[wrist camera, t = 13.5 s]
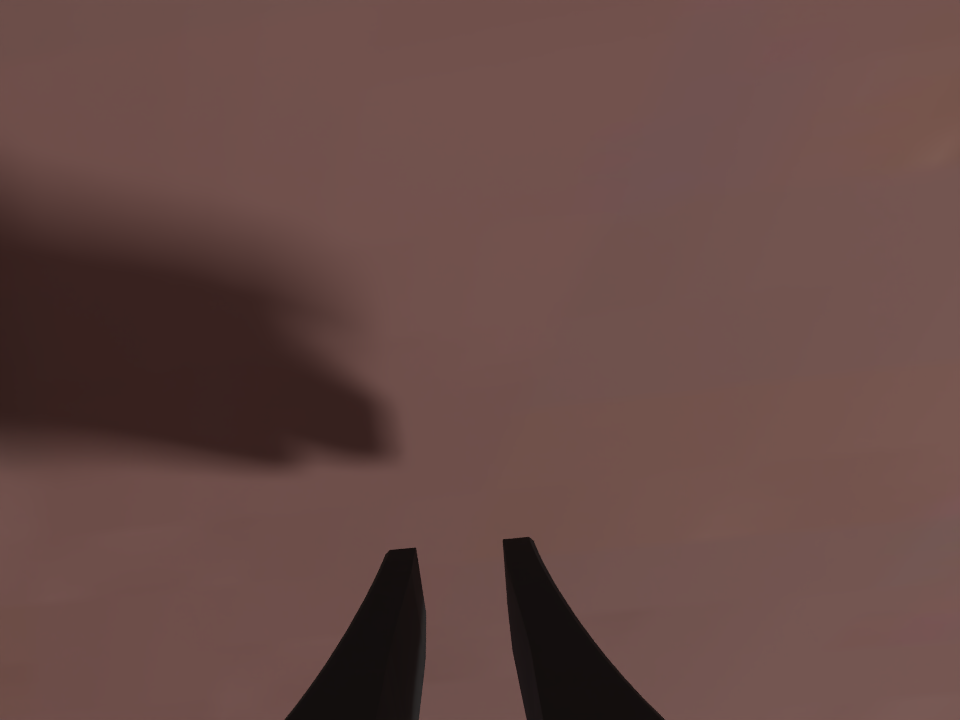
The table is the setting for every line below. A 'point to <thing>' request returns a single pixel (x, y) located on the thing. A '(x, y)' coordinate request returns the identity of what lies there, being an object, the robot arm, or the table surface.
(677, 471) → the table surface
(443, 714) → the table surface
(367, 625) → the robot arm
